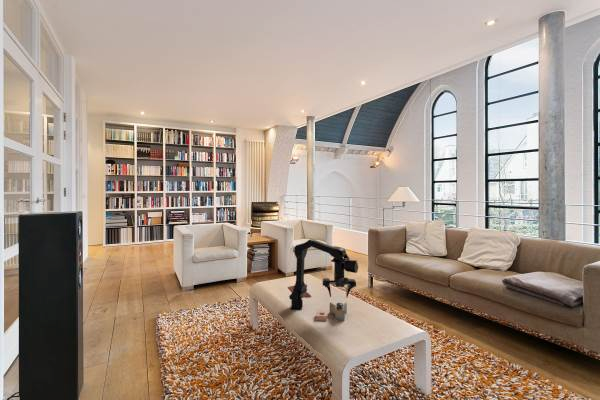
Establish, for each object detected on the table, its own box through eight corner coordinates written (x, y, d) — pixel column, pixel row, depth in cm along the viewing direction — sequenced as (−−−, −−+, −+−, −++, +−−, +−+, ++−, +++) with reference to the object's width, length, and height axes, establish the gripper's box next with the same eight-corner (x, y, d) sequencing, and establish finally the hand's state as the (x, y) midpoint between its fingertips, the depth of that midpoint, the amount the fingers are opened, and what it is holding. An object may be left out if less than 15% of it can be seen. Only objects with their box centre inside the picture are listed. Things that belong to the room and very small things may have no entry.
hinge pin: (336, 319, 171) (336, 305, 171) (336, 317, 175) (336, 302, 174) (343, 320, 171) (343, 305, 171) (342, 317, 175) (342, 302, 174)
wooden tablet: (312, 298, 207) (312, 295, 207) (298, 299, 203) (298, 297, 203) (298, 286, 232) (298, 283, 232) (285, 287, 228) (285, 285, 228)
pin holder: (316, 320, 170) (316, 315, 170) (316, 315, 176) (316, 311, 176) (327, 320, 170) (327, 316, 170) (326, 316, 176) (326, 311, 176)
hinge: (330, 320, 171) (330, 309, 170) (329, 312, 182) (329, 302, 181) (349, 320, 170) (349, 310, 170) (346, 312, 181) (346, 302, 181)
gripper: (323, 273, 166) (322, 302, 166) (358, 274, 165) (357, 303, 166) (322, 268, 177) (322, 294, 177) (355, 269, 176) (354, 295, 177)
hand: (338, 297), depth 174 cm, fingers open, 9 cm apart
